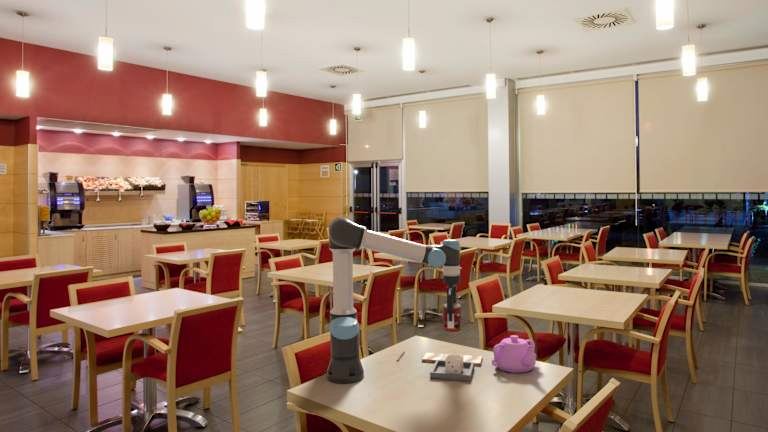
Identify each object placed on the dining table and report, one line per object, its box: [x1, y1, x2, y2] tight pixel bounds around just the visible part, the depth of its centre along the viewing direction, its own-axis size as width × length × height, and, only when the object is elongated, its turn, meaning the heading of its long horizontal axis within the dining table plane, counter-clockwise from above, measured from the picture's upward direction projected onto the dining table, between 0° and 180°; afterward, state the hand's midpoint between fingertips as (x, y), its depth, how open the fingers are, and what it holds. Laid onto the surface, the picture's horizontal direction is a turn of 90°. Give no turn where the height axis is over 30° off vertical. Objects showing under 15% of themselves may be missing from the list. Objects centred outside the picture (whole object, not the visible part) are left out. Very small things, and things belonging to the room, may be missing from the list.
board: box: [396, 351, 483, 367], centre depth 230 cm, size 37×13×1 cm, turn 75°
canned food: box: [442, 303, 462, 333], centre depth 228 cm, size 8×8×11 cm
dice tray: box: [429, 360, 475, 382], centre depth 213 cm, size 16×16×2 cm
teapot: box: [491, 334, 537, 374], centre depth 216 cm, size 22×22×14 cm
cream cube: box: [445, 353, 463, 374], centre depth 212 cm, size 6×6×6 cm
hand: (452, 325), depth 228 cm, fingers closed on canned food, 8 cm apart
